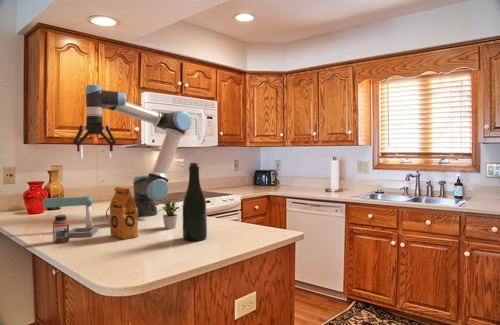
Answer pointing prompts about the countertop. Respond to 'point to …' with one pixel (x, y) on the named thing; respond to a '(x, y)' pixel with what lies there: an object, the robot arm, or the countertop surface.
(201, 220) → the dark green wine bottle
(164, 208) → the house plant
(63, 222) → the supplement bottle
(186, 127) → the robot arm
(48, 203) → the clip
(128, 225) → the coffee package
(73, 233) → the grey stand with post
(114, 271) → the countertop surface
